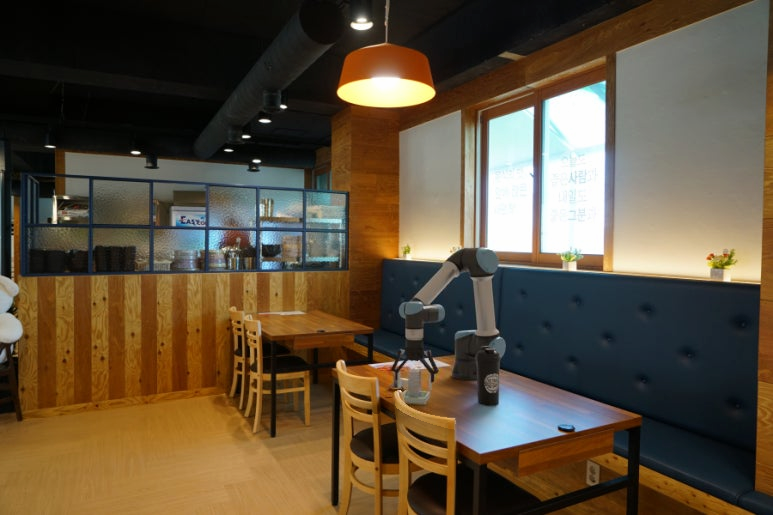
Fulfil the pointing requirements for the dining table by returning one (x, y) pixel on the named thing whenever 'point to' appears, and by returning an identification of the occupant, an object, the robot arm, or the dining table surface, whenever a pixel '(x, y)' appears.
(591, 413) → the dining table surface
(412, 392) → the white upright block
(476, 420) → the dining table surface
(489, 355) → the water bottle
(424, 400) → the tray
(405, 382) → the crank
